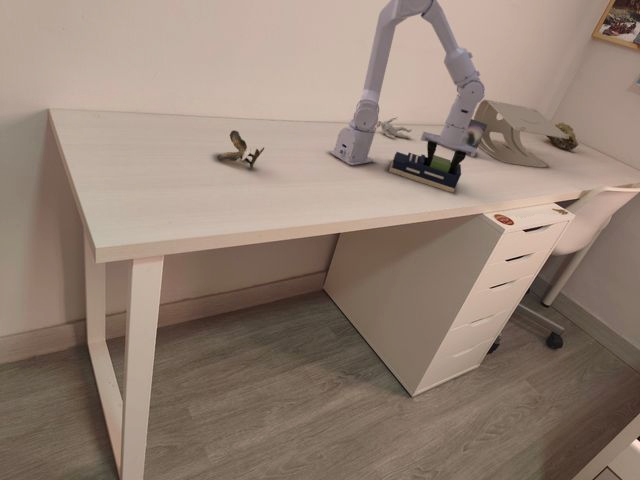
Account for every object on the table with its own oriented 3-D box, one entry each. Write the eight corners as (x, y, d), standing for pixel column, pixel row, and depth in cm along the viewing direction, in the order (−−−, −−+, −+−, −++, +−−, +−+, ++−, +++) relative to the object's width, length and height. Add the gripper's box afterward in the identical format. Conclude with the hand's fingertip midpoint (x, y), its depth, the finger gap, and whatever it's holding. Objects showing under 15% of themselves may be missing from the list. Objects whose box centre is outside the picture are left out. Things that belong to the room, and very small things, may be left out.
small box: (443, 146, 154) (455, 117, 149) (445, 142, 160) (457, 113, 154) (473, 157, 152) (486, 128, 147) (474, 152, 158) (487, 124, 152)
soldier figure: (409, 145, 150) (383, 129, 144) (399, 149, 154) (373, 134, 148) (412, 124, 152) (386, 108, 146) (402, 129, 156) (376, 114, 150)
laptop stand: (513, 143, 182) (531, 106, 174) (554, 169, 164) (576, 129, 156) (462, 136, 173) (479, 96, 165) (500, 163, 154) (521, 119, 146)
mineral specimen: (577, 150, 201) (589, 129, 196) (571, 154, 191) (584, 132, 186) (546, 138, 207) (557, 117, 202) (538, 141, 198) (550, 119, 193)
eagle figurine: (263, 157, 106) (231, 138, 106) (265, 140, 99) (231, 120, 100) (246, 181, 103) (212, 161, 103) (247, 164, 96) (211, 143, 96)
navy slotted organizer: (452, 182, 127) (460, 164, 124) (452, 192, 120) (461, 174, 117) (392, 161, 129) (398, 144, 126) (388, 171, 121) (395, 152, 119)
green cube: (443, 182, 121) (450, 166, 118) (425, 177, 121) (432, 160, 119) (443, 176, 125) (450, 160, 123) (426, 170, 126) (433, 154, 123)
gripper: (482, 129, 118) (462, 175, 125) (430, 112, 120) (412, 159, 127) (484, 136, 112) (462, 184, 119) (428, 119, 114) (410, 167, 121)
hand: (436, 172), depth 123 cm, fingers closed on green cube, 5 cm apart
